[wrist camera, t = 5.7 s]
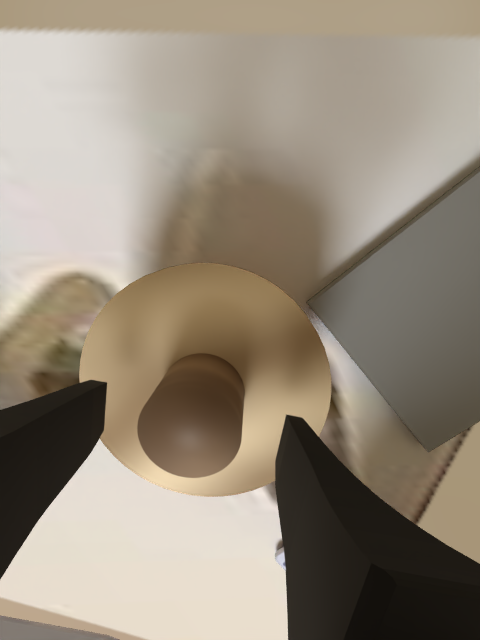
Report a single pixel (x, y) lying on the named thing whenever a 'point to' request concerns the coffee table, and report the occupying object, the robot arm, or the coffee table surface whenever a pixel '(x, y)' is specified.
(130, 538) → the coffee table surface
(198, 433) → the lid
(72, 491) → the coffee table surface
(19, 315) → the coffee table surface
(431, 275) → the mat
